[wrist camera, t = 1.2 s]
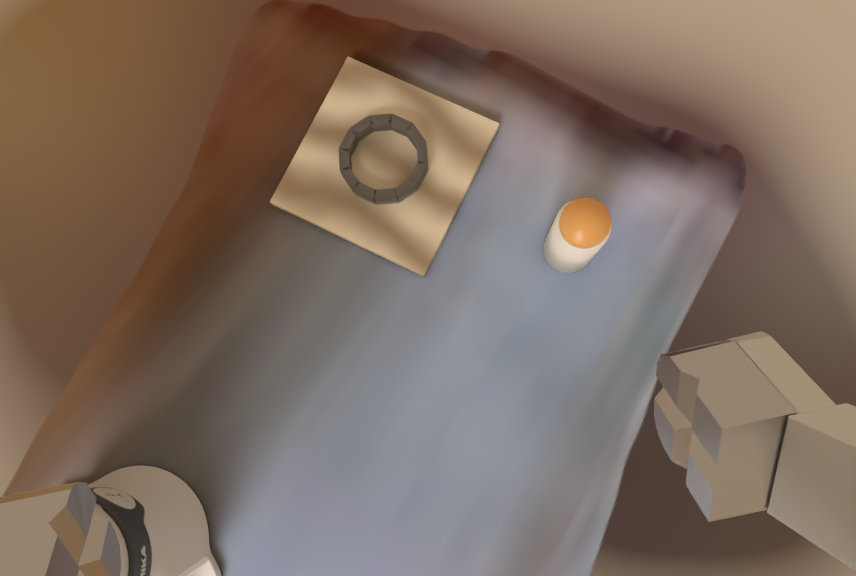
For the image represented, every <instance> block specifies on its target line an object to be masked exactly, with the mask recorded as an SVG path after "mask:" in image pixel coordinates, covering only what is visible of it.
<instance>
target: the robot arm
mask: <svg viewBox="0 0 856 576" xmlns="http://www.w3.org/2000/svg"><path fill="white" fill-rule="evenodd" d="M656 376H657V378H658V379H659V381H660V382H661V384H662V385H663V386H664V387H663V389H662V390H661V391H660V392H659V394H658V395H657V396H656V397H655V403H654V417H655V422H656V427H657V432H658V435H659V438H660V440H661V442H662V445H663V447H664V449H665V451H666V452H667V454H668V456H669V457H670V459H671V461H673V462H675V463H677V464H678V465H680V466H682V467H684V468H686V469H687V478H686V486H687V487H688V489H689V491H690V492H691V494H692V495H693V497H694V499H695V500H696V502H697V503H698V505H699V507H700V508H701V510H702V511H703V513H704V515H705V517H706V518H707V520H708V521H709V522H710V521H715V520H720V519H724V518H729V517H734V516H739V515H743V514H748V513H753V512H758V511H763V510H768V511H767V513H769V514H770V515H772V516H773V517H775V518H776V519H778V520H779V521H781V522H782V523H784V524H785V525H787V526H788V527H790V528H791V529H793V530H794V531H796V532H797V533H799V534H800V535H802V536H803V537H805V538H806V539H808V540H809V541H811V542H812V543H814V544H815V545H817V546H818V547H820V548H821V549H823V550H824V551H826V552H827V553H829V554H831V555H832V556H833V557H835V558H836V559H838V560H839V561H841V562H842V563H844V564H845V565H847V566H849V567H850V568H851V569H853V570H855V571H856V407H854V406H852V405H850V404H847V403H845V404H840V405H835V403H834V402H833V401H832V400H831V399H830V398H829V397H828V396H827V395H826V394H825V393H824V392H823V391H822V390H821V389H820V388H819V387H818V385H817V384H816V383H815V382H814V381H813V380H812V379H811V378H810V377H809V376H808V375H807V374H806V373H805V372H804V371H803V370H802V369H801V368H800V367H799V365H798V364H797V363H796V362H795V361H794V360H793V359H792V358H791V357H790V356H789V355H788V354H787V353H786V352H785V351H784V350H783V349H782V348H781V346H780V345H779V344H778V343H777V342H776V341H775V340H774V339H773V338H772V337H771V336H770V335H768V334H766V333H764V332H762V331H761V332H757V333H753V334H748V335H744V336H739V337H735V338H731V339H728V340H723V341H719V342H714V343H710V344H705V345H701V346H697V347H693V348H688V349H684V350H679V351H674V352H670V353H666V354H661V356H660V358H659V360H658V362H657V373H656ZM0 576H221V572H220V569H219V567H218V565H217V563H216V561H215V559H214V557H213V555H212V553H211V550H210V544H209V532H208V524H207V519H206V516H205V512H204V510H203V507H202V505H201V503H200V501H199V499H198V498H197V496H196V495H195V493H194V492H193V491H192V489H191V488H190V487H189V486H188V485H187V484H186V483H185V482H184V481H183V480H181V479H180V478H179V477H177V476H176V475H174V474H172V473H170V472H168V471H166V470H163V469H160V468H156V467H151V466H130V467H125V468H121V469H118V470H116V471H113V472H111V473H109V474H107V475H105V476H103V477H102V478H100V479H98V480H96V481H94V482H93V483H90V484H88V485H87V483H84V482H73V483H68V484H63V485H58V486H53V487H48V488H42V489H37V490H32V491H27V492H22V493H17V494H11V495H6V496H4V497H1V498H0Z"/></svg>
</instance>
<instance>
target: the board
mask: <svg viewBox="0 0 856 576" xmlns="http://www.w3.org/2000/svg"><path fill="white" fill-rule="evenodd" d="M499 124H500V123H497V122H495V121H493V120H490V119H488V118H486V117H484V116H481V115H479V114H477V113H475V112H472V111H470V110H468V109H466V108H463V107H461V106H459V105H457V104H454V103H452V102H450V101H448V100H445V99H443V98H441V97H438V96H436V95H434V94H432V93H429V92H427V91H425V90H423V89H420V88H418V87H416V86H414V85H411V84H409V83H407V82H405V81H402V80H400V79H398V78H396V77H393V76H391V75H389V74H386V73H384V72H382V71H380V70H377V69H375V68H373V67H371V66H368V65H366V64H364V63H362V62H359V61H357V60H355V59H353V58H350V57H347V59H346V61H345V63H344V65H343V66H342V68H341V70H340V72H339V74H338V76H337V78H336V79H335V81H334V83H333V85H332V87H331V89H330V91H329V92H328V94H327V96H326V98H325V100H324V102H323V104H322V105H321V107H320V109H319V111H318V113H317V115H316V117H315V118H314V120H313V122H312V124H311V126H310V128H309V130H308V131H307V133H306V135H305V137H304V139H303V141H302V143H301V144H300V146H299V148H298V150H297V152H296V154H295V156H294V157H293V159H292V161H291V163H290V165H289V167H288V169H287V170H286V172H285V174H284V176H283V178H282V180H281V182H280V184H279V185H278V187H277V189H276V191H275V193H274V195H273V197H272V198H271V200H270V203H271V204H272V205H273V206H275V207H277V208H279V209H282V210H284V211H286V212H288V213H290V214H292V215H294V216H296V217H298V218H300V219H303V220H305V221H307V222H309V223H311V224H313V225H315V226H317V227H319V228H322V229H324V230H326V231H328V232H330V233H332V234H334V235H336V236H338V237H341V238H343V239H345V240H347V241H349V242H351V243H353V244H355V245H357V246H360V247H362V248H364V249H366V250H368V251H370V252H372V253H374V254H376V255H379V256H381V257H383V258H385V259H387V260H389V261H391V262H393V263H395V264H397V265H400V266H402V267H404V268H406V269H408V270H410V271H412V272H414V273H416V274H419V275H421V276H423V277H425V276H426V274H427V272H428V270H429V268H430V266H431V264H432V262H433V260H434V258H435V255H436V253H437V251H438V249H439V247H440V245H441V243H442V241H443V239H444V237H445V235H446V233H447V231H448V229H449V227H450V225H451V223H452V221H453V219H454V217H455V215H456V213H457V211H458V209H459V207H460V205H461V203H462V201H463V199H464V197H465V195H466V193H467V191H468V189H469V187H470V185H471V183H472V181H473V179H474V177H475V175H476V173H477V171H478V169H479V167H480V165H481V163H482V161H483V159H484V157H485V155H486V153H487V151H488V149H489V147H490V145H491V143H492V141H493V139H494V137H495V135H496V133H497V131H498V129H499Z"/></svg>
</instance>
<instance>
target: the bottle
mask: <svg viewBox="0 0 856 576" xmlns="http://www.w3.org/2000/svg"><path fill="white" fill-rule="evenodd" d="M611 229H612V222H611V217H610V214H609V211H608V210H607V208H606V207H605V206H604V205H603V204H602V203H601V202H600V201H598V200H596V199H593V198H589V197H582V198H577V199H574V200H571V201H569V202H567V203H566V204H565V205H564V206H563V207H562V208H561V209H560V211H559V212H558V214H557V216H556V218H555V220H554V222H553V225H552V227H551V229H550V231H549V233H548V235H547V237H546V239H545V241H544V244H543V254H544V258H545V260H546V261H547V263H548V264H549V265H550V266H551V267H552V268H553V269H554V270H556V271H558V272H561V273H574V272H577V271H579V270H581V269H583V268H584V267H585V266H586V265H587V264H588V263H589V261H590V260H591V259H592V258H593V257H594V255H595V254H596V253H597V252H598V251H599V250H600V248H601V247H602V246H603V245H604V244H605V243H606V241H607V240H608V238H609V236H610V234H611Z"/></svg>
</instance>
